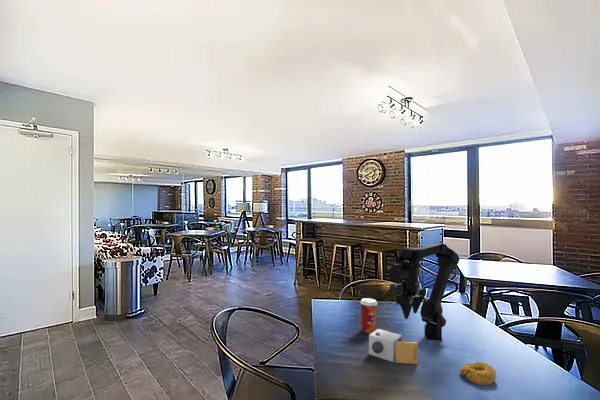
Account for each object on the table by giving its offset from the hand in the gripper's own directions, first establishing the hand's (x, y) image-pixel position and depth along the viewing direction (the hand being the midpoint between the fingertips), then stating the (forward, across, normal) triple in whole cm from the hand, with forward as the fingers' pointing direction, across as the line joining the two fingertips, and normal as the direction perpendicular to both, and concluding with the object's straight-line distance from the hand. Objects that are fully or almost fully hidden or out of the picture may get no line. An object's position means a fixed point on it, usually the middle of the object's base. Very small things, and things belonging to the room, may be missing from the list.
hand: (410, 316), depth 139 cm
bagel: (+12, +10, +28) cm, 32 cm away
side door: (+12, +17, +5) cm, 21 cm away
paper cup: (+12, -2, -20) cm, 24 cm away
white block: (+12, +15, -4) cm, 20 cm away
